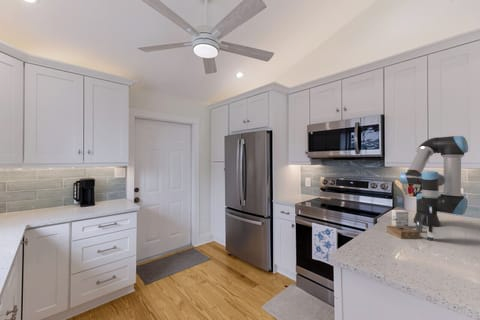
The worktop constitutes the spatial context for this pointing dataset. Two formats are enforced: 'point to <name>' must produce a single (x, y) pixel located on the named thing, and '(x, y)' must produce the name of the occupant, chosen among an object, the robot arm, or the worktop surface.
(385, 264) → the worktop surface
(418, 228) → the short pin
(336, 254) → the worktop surface
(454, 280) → the worktop surface
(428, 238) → the long pin
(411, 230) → the hole block
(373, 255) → the worktop surface
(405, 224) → the ink box
